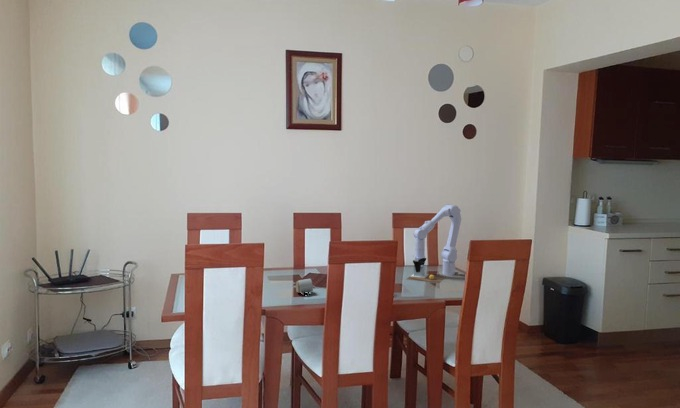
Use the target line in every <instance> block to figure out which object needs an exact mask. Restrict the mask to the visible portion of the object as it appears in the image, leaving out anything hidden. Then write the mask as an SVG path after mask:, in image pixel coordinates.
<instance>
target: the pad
mask: <svg viewBox="0 0 680 408" xmlns="http://www.w3.org/2000/svg"><path fill="white" fill-rule="evenodd" d="M428 275H430V274H427V273H425V275H424V276H423V277H420V276H414V273H412V274H411V275H410V276H409V277H417V278H426V277H427V276H428Z"/></svg>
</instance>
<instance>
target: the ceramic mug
mask: <svg viewBox="0 0 680 408" xmlns="http://www.w3.org/2000/svg"><path fill="white" fill-rule="evenodd" d="M312 280H313V279H312V278H306V279H305V278H304V279H300V280H297V281H296V282H295V290H296V293H297V292H300V293H301V294H303V293H302V292H310V293H311V292H312V291H313V292H314V286H313V281H312ZM313 292H312V293H313ZM310 293H308V294H310ZM312 293H311V294H312ZM301 294H300V295H301Z"/></svg>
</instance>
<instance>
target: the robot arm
mask: <svg viewBox="0 0 680 408" xmlns="http://www.w3.org/2000/svg"><path fill="white" fill-rule="evenodd" d="M461 216H462V215H461V209H460V208H459V206H457V205H453V204H452V205H451V204H445V205H444V206H442V207H441V209H439V211H438V213H436V214H435V215H434V217H432V218H431V220H425V221H424V223H423V224H422V225H421V226H419V228H417V229H415V230H414V233H413V236H414V238H415V239H414V255H412V256H413V258H414V259H413V260H412V263H413V265H414V266H415V269H416V272H420V268H421V265H425V263H426V260H427V257H426V255H425V251H426V250H425V246H426V245H425V243H426V241H425V240H426V238H427V235H428V234H429V233H430V232H431V231H432V230H433V229H435V225H436V224H437V223H438V222H440V221H441V220H442V219H444V218H445V217H449V219H450V220H451V222H450V227H449V232H448V236H447V241H446V245H445V246H443V249H442V251H441V253H440V256H441V259H442V275H443V276H454V275H455V273H456V263H455V262H456V261H457V258H458V256H457V253H458V250H457V248H456V247H457V246H456V245H457V240H458V235H459V230H460V226H461V222H462V217H461Z"/></svg>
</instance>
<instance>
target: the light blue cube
mask: <svg viewBox="0 0 680 408" xmlns="http://www.w3.org/2000/svg"><path fill="white" fill-rule="evenodd" d="M413 274H414V276H420V277H423V276H424V275H425V274H426V264H424V265H421V268H420V272H416V269H415V265H414V266H413Z"/></svg>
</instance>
